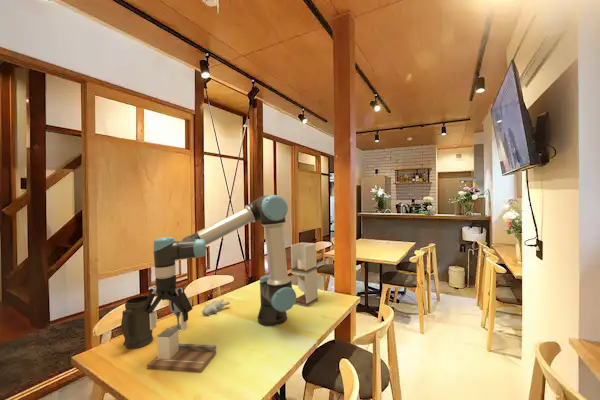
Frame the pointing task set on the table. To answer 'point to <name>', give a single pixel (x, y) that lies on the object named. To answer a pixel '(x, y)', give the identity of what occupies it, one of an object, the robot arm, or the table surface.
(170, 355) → the block
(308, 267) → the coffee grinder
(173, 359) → the board
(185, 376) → the table surface
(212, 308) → the bunny figurine
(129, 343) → the beer stein
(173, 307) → the wine glass
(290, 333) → the table surface
